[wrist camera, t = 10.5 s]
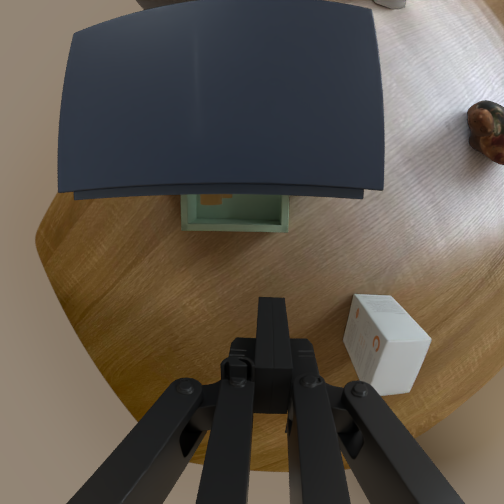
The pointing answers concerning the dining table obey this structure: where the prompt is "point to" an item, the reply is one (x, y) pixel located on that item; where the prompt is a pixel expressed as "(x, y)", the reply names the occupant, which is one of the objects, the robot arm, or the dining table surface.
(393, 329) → the small box
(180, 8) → the drawer cabinet
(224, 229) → the storage tub
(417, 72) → the dining table surface
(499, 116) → the brown ceramic figurine
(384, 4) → the flask
